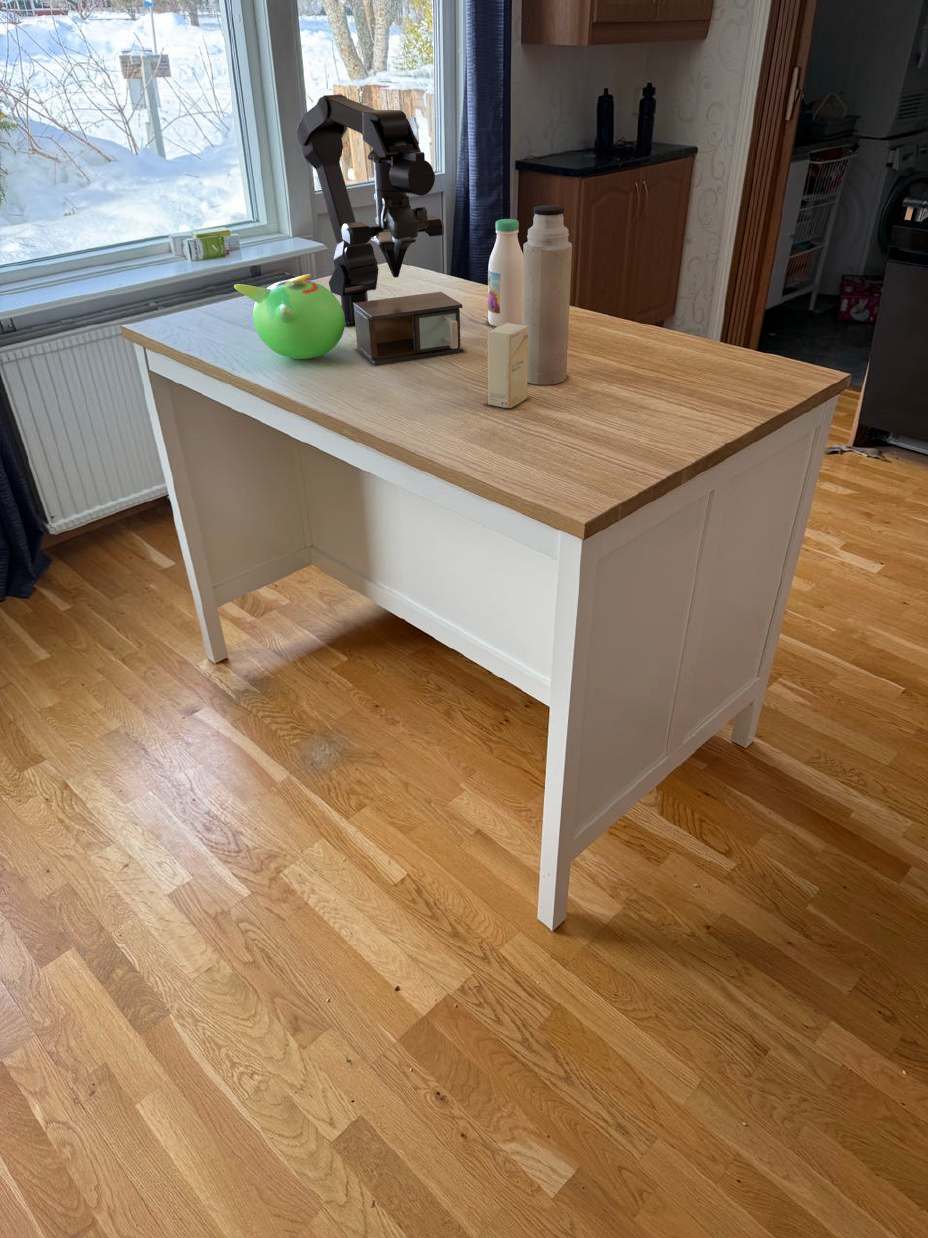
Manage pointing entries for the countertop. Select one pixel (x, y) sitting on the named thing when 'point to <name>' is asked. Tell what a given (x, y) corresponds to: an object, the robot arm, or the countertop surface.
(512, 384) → the cosmetic box
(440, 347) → the glass door
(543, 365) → the thermos bottle
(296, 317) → the toy bird
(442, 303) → the cupboard
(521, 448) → the countertop surface
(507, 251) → the milk bottle
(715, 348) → the countertop surface
